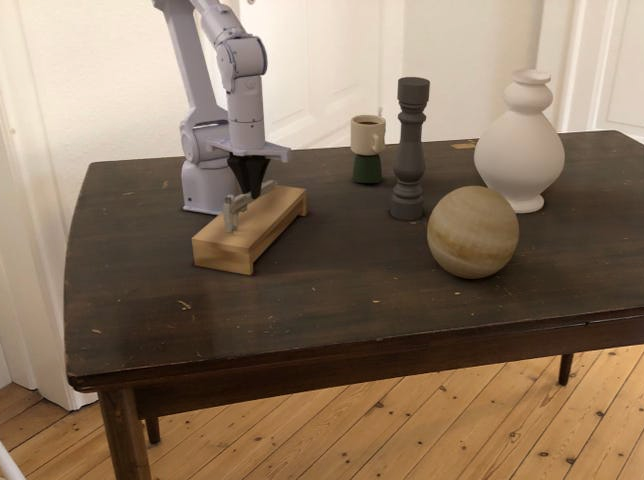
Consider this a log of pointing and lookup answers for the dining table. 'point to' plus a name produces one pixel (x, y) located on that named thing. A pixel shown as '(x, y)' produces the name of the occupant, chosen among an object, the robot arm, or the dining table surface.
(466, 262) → the decorative ball
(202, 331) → the dining table surface
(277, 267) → the dining table surface
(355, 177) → the character mug
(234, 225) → the caliper
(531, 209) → the decorative vase
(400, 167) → the candle holder
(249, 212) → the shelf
